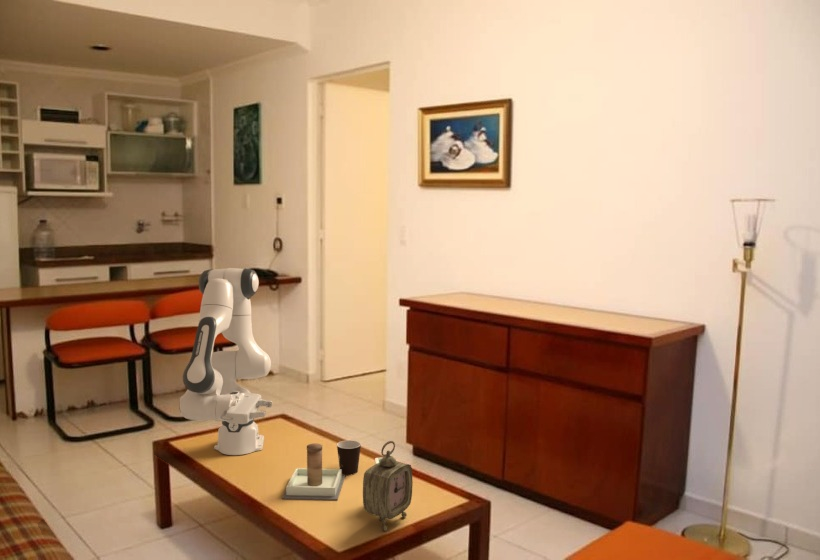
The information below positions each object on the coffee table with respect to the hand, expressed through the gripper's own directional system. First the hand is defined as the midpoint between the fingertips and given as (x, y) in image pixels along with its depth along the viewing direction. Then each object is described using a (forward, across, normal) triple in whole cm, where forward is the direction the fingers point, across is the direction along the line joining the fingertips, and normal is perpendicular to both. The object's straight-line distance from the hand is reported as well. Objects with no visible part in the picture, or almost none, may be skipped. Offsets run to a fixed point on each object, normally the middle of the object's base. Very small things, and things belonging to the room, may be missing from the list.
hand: (268, 409), depth 228 cm
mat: (+16, -4, +26) cm, 31 cm away
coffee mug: (+26, +12, +27) cm, 40 cm away
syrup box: (+40, -16, +25) cm, 50 cm away
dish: (+16, -4, +26) cm, 31 cm away
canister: (+16, -4, +25) cm, 30 cm away
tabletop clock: (+42, -28, +25) cm, 56 cm away
